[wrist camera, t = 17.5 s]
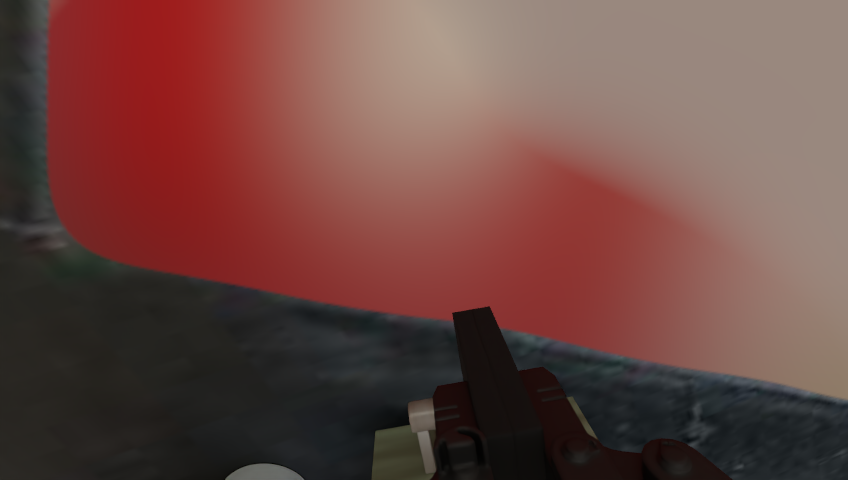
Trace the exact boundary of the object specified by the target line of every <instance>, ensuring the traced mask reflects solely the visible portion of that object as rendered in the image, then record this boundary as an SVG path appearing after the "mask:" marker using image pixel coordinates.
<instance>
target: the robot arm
mask: <svg viewBox="0 0 848 480" xmlns="http://www.w3.org/2000/svg"><path fill="white" fill-rule="evenodd" d="M452 314H453V320H454V326H455V332H456V339H457V345H458V351H459V357H460V363H461V369H462V374H463V379H464V382H458V383H452V384H446V385H441V386H437V389H436V391H435V393H434V395H433V397H432V398H433V408H434V418H435V428H436V439H435V441H434V448H433V450H434V455H435V460H436V465H437V470H436V472H435V473H434V475H433V476H432V478H431V479H430V480H732V479H731V478H730V477H729V476H727V475H726V474H725V473H724V472H722V471H721V470H720V469H719V468H717V467H716V466H715V465H714V464H713V463H711V462H710V461H709V460H708V459H706V458H705V457H704V456H703V455H701V454H700V453H699V452H698V451H696V450H695V449H693V448H692V447H690V446H688V445H687V444H685V443H682V442H679V441H676V440H673V439H662V438H661V439H656V440H651V441H650V442H649V443H647V444H646V445H644V448H643V451H642V453H632V452H622V451H617V450H612V449H609V448H607V447H604V446H603V445H602V444H601V443H600V442H599V441H598V439H596V438H594V437H593V436H591V435H589V434H588V433H587V432H586V430H585V428H584V426H583V425H582V423H581V421H580V419H579V418H578V416H577V414H576V412H575V411H574V409H573V407H572V405H571V404H570V402H569V400H568V398H566V395H565V393H564V391H563V390H562V389H561V386H560V384H559V383H558V381H557V379H556V377H555V376H554V375H553V374H552V373H550V372H549V371H548V370H546V369H545V368H544V367H539V368H533V369H527V370H522V371H518V370H517V367H516V365H515V363H514V361H513V358H512V356H511V354H510V352H509V349H508V347H507V345H506V342H505V340H504V338H503V336H502V333H501V331H500V329H499V327H498V324H497V322H496V320H495V317H494V315H493V313H492V311H491V308H490V307H484V308H478V309H472V310H466V311H461V312H455V313H452Z"/></svg>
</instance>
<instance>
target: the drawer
mask: <svg viewBox="0 0 848 480" xmlns="http://www.w3.org/2000/svg"><path fill="white" fill-rule="evenodd" d="M567 398H568V400H569V402H570V404H571V405H572V407H573V409H574V411H575V412H576V414H577V416H578V418H579V419H580V421H581V423H582V425H583V426H584V428H585V430H586V432H587V433H588V434H589V435H591V436H593V437H594V438H596V439H597V437H596V435H595V434H594V432H593V430H592V429H591V427H590V425H589V424H588V422H587V420H586V419H585V417H584V415H583V414H582V412H581V410H580V409H579V407H578V405H577V404H576V402H575V400H574V399H573V397H567ZM408 414H409V422H410V425H406V426H401V427H395V428H389V429H384V430H378V431H375V443H374V455H373V467H372V480H430V479H431V478H432V476H433V475H434V473H435V472H436V470H437V465H436V460H435V455H434V450H433V448H434V441H435V439H436V428H435V418H434V408H433V398H429V399H423V400H418V401H412V402H408ZM598 441H599V440H598Z"/></svg>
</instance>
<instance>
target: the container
mask: <svg viewBox="0 0 848 480" xmlns="http://www.w3.org/2000/svg"><path fill="white" fill-rule="evenodd" d="M225 480H304V479H303V478H302V477H301V476H300V475H299V474H297V473H296V472H294V471H292V470H291V469H288V468H286V467H283V466H280V465H275V464H266V463H265V464H253V465H248V466H245V467H242V468H240V469H238V470H236V471H234V472H233V473H231V474H230V475H229V476H228V477H227V478H226V479H225Z"/></svg>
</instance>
